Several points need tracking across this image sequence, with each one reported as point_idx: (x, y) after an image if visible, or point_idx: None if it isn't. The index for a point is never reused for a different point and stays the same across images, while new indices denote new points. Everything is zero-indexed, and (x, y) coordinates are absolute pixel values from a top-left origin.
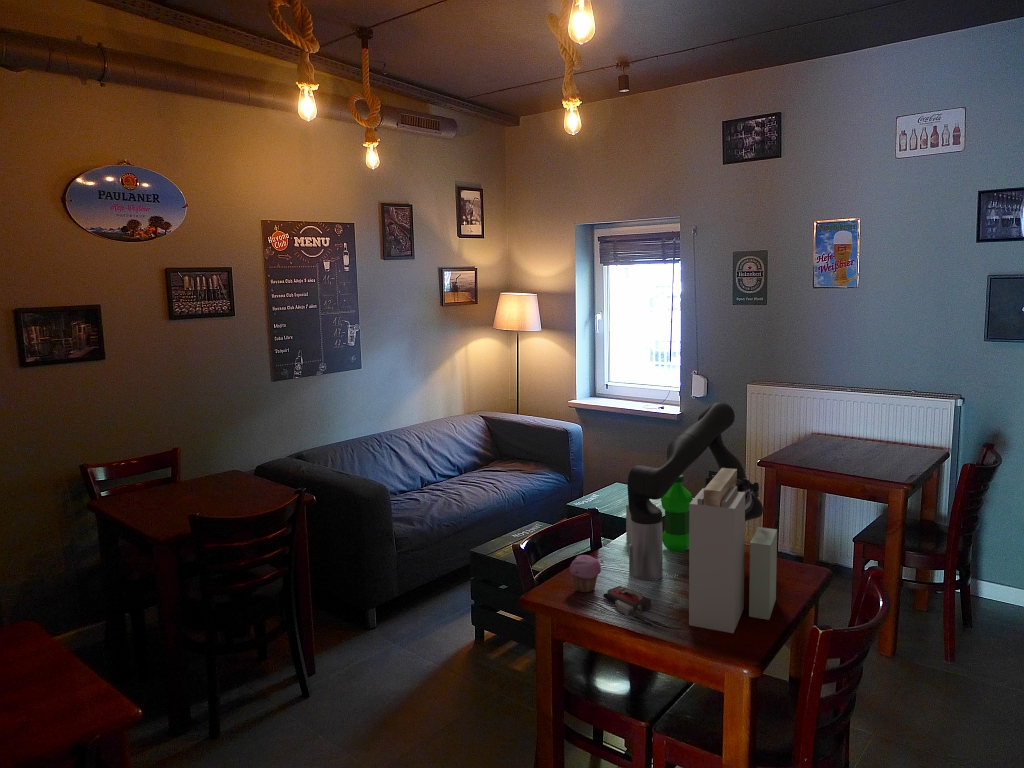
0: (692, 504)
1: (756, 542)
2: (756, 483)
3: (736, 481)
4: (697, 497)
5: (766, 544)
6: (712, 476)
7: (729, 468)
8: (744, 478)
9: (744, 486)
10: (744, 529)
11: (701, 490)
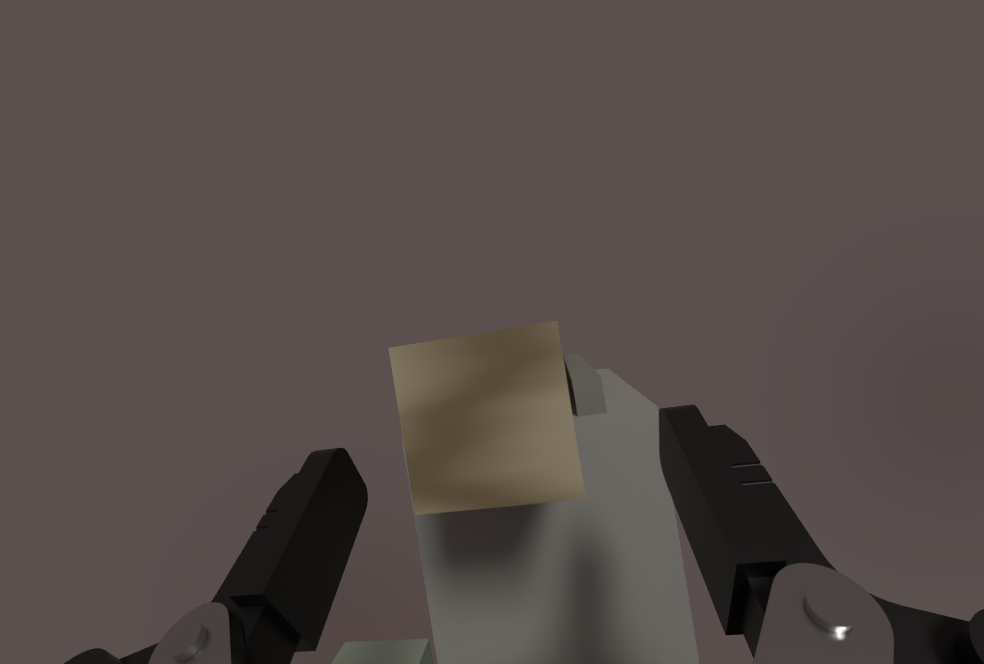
0: (597, 370)
1: (398, 649)
2: (97, 653)
3: (418, 479)
4: (609, 379)
5: (360, 643)
6: (677, 410)
7: (469, 335)
8: (334, 449)
9: (352, 521)
10: (439, 653)
11: (640, 397)
